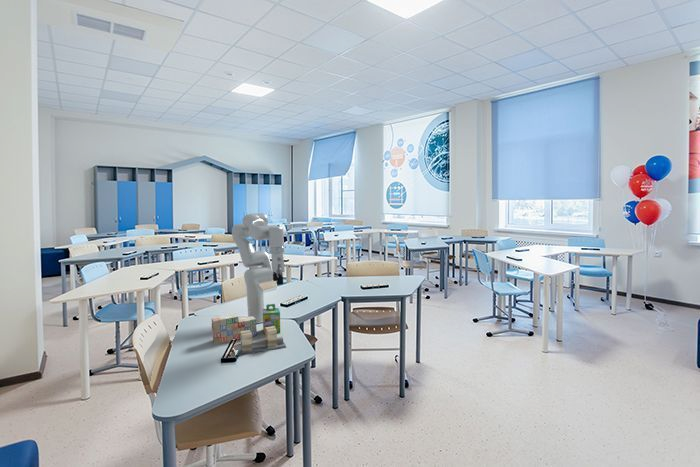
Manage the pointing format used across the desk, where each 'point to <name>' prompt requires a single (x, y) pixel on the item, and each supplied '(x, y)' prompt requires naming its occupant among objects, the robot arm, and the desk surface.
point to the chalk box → (271, 317)
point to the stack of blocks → (231, 327)
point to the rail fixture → (255, 344)
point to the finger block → (271, 336)
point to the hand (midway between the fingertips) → (278, 282)
